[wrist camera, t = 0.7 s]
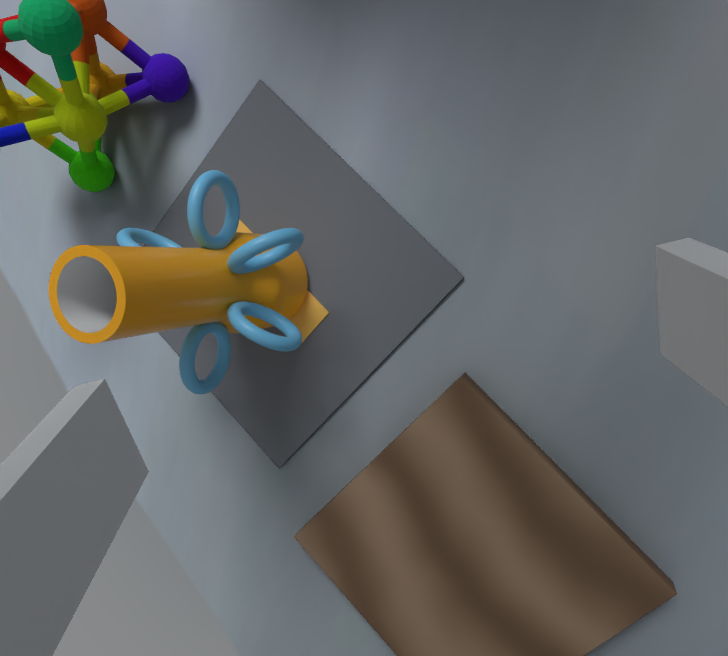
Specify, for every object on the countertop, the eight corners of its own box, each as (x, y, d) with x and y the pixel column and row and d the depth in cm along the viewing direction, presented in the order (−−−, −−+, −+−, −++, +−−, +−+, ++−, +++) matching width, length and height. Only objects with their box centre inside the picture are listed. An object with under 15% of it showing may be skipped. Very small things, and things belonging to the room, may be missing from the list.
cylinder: (232, 388, 39) (43, 463, 25) (169, 253, 39) (-52, 251, 25) (382, 313, 34) (256, 351, 20) (309, 162, 35) (138, 98, 21)
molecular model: (107, 206, 41) (-57, 184, 30) (55, 131, 42) (-122, 82, 31) (210, 93, 37) (67, 21, 26) (152, 13, 38) (-10, -89, 27)
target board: (464, 372, 33) (461, 376, 32) (672, 581, 31) (676, 594, 30) (301, 528, 38) (293, 536, 37) (468, 719, 36) (465, 734, 35)
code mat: (261, 80, 36) (258, 79, 35) (464, 277, 33) (463, 277, 32) (118, 284, 41) (115, 284, 41) (280, 467, 38) (278, 468, 38)
